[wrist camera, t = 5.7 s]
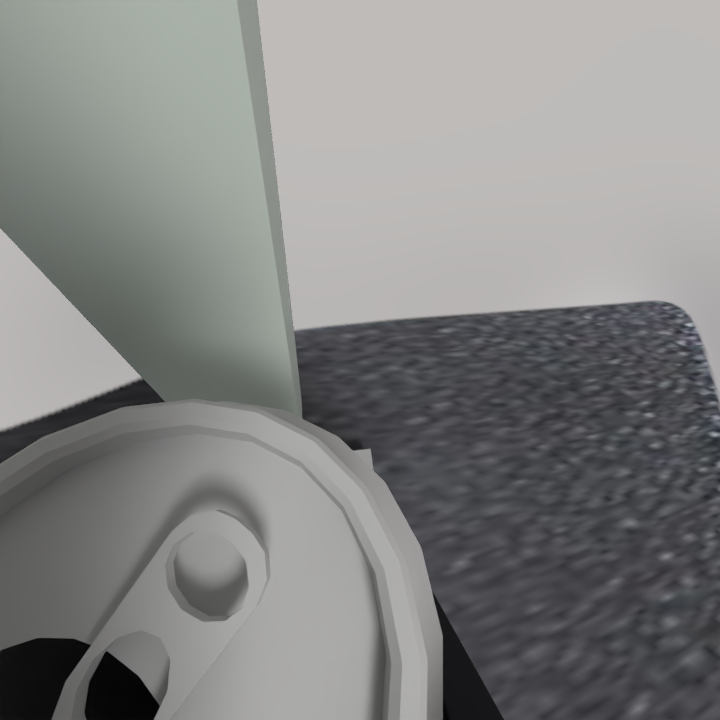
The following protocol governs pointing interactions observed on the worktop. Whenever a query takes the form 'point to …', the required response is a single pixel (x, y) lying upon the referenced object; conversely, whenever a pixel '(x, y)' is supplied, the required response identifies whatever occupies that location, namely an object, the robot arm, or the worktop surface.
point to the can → (209, 574)
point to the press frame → (152, 186)
